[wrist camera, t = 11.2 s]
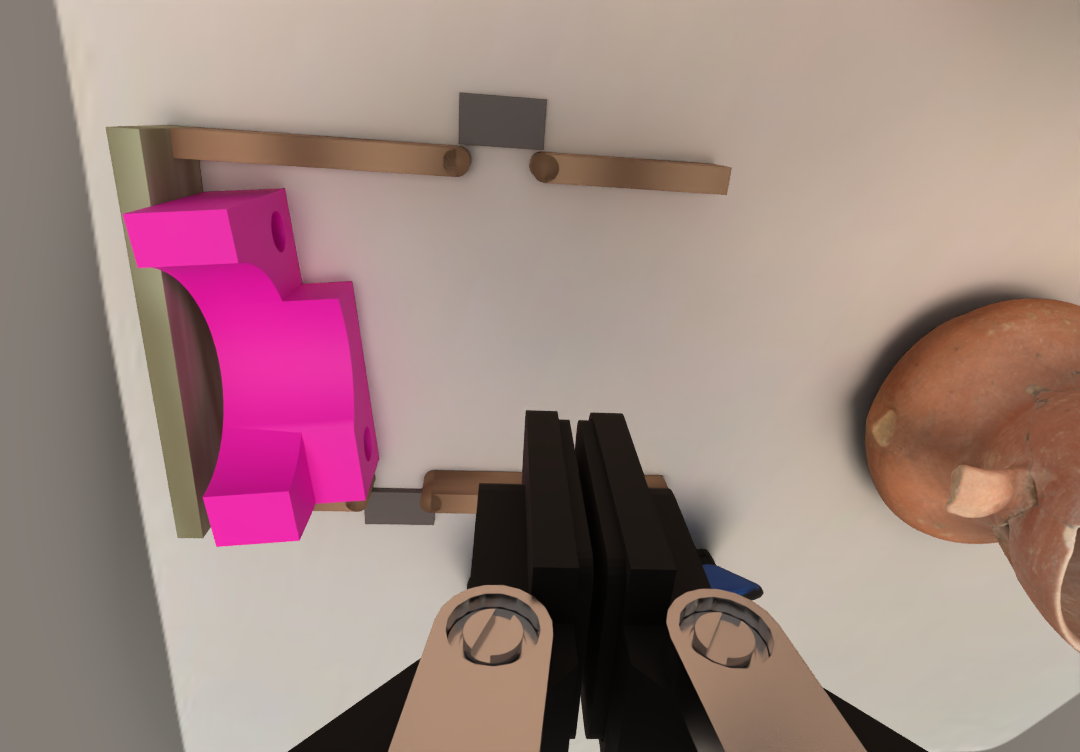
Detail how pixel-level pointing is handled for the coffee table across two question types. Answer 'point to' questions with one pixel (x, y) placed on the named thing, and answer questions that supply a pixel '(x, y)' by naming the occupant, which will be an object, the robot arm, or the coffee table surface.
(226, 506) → the toy block
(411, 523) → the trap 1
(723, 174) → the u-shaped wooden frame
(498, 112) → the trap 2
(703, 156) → the coffee table surface
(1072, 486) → the ceramic jug
